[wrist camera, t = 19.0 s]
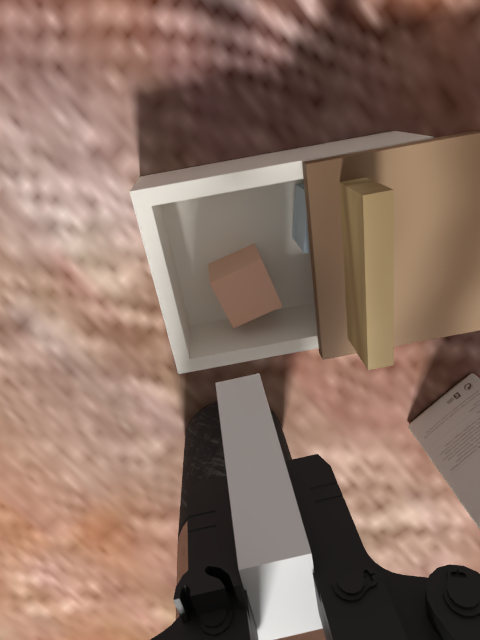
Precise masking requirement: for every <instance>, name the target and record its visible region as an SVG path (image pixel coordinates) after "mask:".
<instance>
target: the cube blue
mask: <svg viewBox="0 0 480 640" xmlns="http://www.w3.org/2000/svg"><path fill="white" fill-rule="evenodd" d="M292 238H293V239H294V240H295V242H296V243H297V245H298V246H299V247H300V249H301V250H302V252H303V253H310V246H309V234H308V223H307V212H306V201H305V190H304V184H296V188H295V202H294V216H293V230H292Z"/></svg>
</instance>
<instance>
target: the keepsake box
mask: <svg viewBox="0 0 480 640" xmlns="http://www.w3.org/2000/svg"><path fill="white" fill-rule="evenodd" d="M431 138H434V137H433V136H426V135H420V134H413V133H406V132H400V131H390V132H384V133H379V134H373V135H368V136H362V137H357V138H351V139H345V140H340V141H334V142H329V143H323V144H318V145H312V146H307V147H301V148H296V149H290V150H285V151H279V152H273V153H268V154H262V155H257V156H251V157H246V158H240V159H235V160H229V161H224V162H218V163H212V164H207V165H201V166H196V167H190V168H185V169H179V170H174V171H168V172H163V173H157V174H151V175H146V176H140V177H139V179H138V180H137V182H136V183H135V185H134V186H133V187H132V189H131V190H130V195H131V199H132V203H133V206H134V210H135V214H136V217H137V221H138V225H139V229H140V232H141V236H142V240H143V244H144V247H145V251H146V255H147V259H148V262H149V266H150V270H151V274H152V277H153V281H154V285H155V289H156V292H157V296H158V300H159V304H160V307H161V311H162V315H163V318H164V322H165V326H166V330H167V333H168V337H169V341H170V345H171V348H172V352H173V356H174V360H175V363H176V367H177V371H178V374H182V373H188V372H193V371H198V370H204V369H209V368H215V367H220V366H225V365H231V364H236V363H241V362H247V361H252V360H257V359H263V358H268V357H273V356H279V355H284V354H290V353H295V352H300V351H306V350H311V349H316V348H319V347H318V335H317V324H316V313H315V302H314V291H313V279H312V268H311V257H310V253H303V252H302V250H301V249H300V247H299V246H298V245H297V243H296V242H295V240H294V239H293V238H292V230H293V216H294V202H295V188H296V184H304V178H303V167H302V162H304V161H310V160H315V159H321V158H326V157H332V156H337V155H343V154H348V153H354V152H360V151H365V150H371V149H376V148H382V147H387V146H393V145H398V144H404V143H409V142H415V141H420V140H426V139H431ZM253 243H255V245H256V247H257V249H258V251H259V254H260V256H261V258H262V260H263V263H264V265H265V267H266V269H267V272H268V274H269V276H270V278H271V281H272V283H273V285H274V287H275V290H276V292H277V294H278V297H279V299H280V301H281V304H282V306H283V307H281V308H278V309H276V310H274V311H271V312H269V313H267V314H265V315H262V316H260V317H258V318H256V319H253V320H251V321H249V322H247V323H244V324H242V325H240V326H238V327H235V328H233V327H232V325H231V323H230V321H229V319H228V317H227V315H226V314H225V312H224V310H223V308H222V306H221V304H220V302H219V300H218V298H217V296H216V294H215V292H214V291H213V289H212V287H211V285H210V281H209V269H208V264H210V263H212V262H214V261H217V260H219V259H221V258H223V257H225V256H227V255H230V254H232V253H234V252H236V251H238V250H240V249H243V248H245V247H247V246H249V245H251V244H253Z"/></svg>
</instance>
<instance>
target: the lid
mask: <svg viewBox="0 0 480 640" xmlns="http://www.w3.org/2000/svg"><path fill="white" fill-rule="evenodd" d="M302 167H303V178H304V190H305V201H306V212H307V223H308V234H309V246H310V257H311V268H312V279H313V291H314V302H315V313H316V324H317V335H318V347H319V353H320V355H321V357H322V359H323V360H324V359H329V358H334V357H340V356H345V355H350V354H356V353H357V354H358V355H359V357H360V358H361V360H362V361H363V363H364V364H365V366H366V368H367V369H368V370H371V369H376V368H382V367H387V366H392V365H394V346H399V345H404V344H409V343H415V342H420V341H425V340H431V339H436V338H441V337H447V336H452V335H458V334H463V333H468V332H474V331H479V330H480V130H476V131H470V132H465V133H459V134H454V135H448V136H442V137H437V138H431V139H426V140H420V141H415V142H409V143H404V144H398V145H393V146H387V147H382V148H376V149H371V150H365V151H360V152H354V153H348V154H343V155H337V156H332V157H326V158H321V159H315V160H310V161H304V162H302Z"/></svg>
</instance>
